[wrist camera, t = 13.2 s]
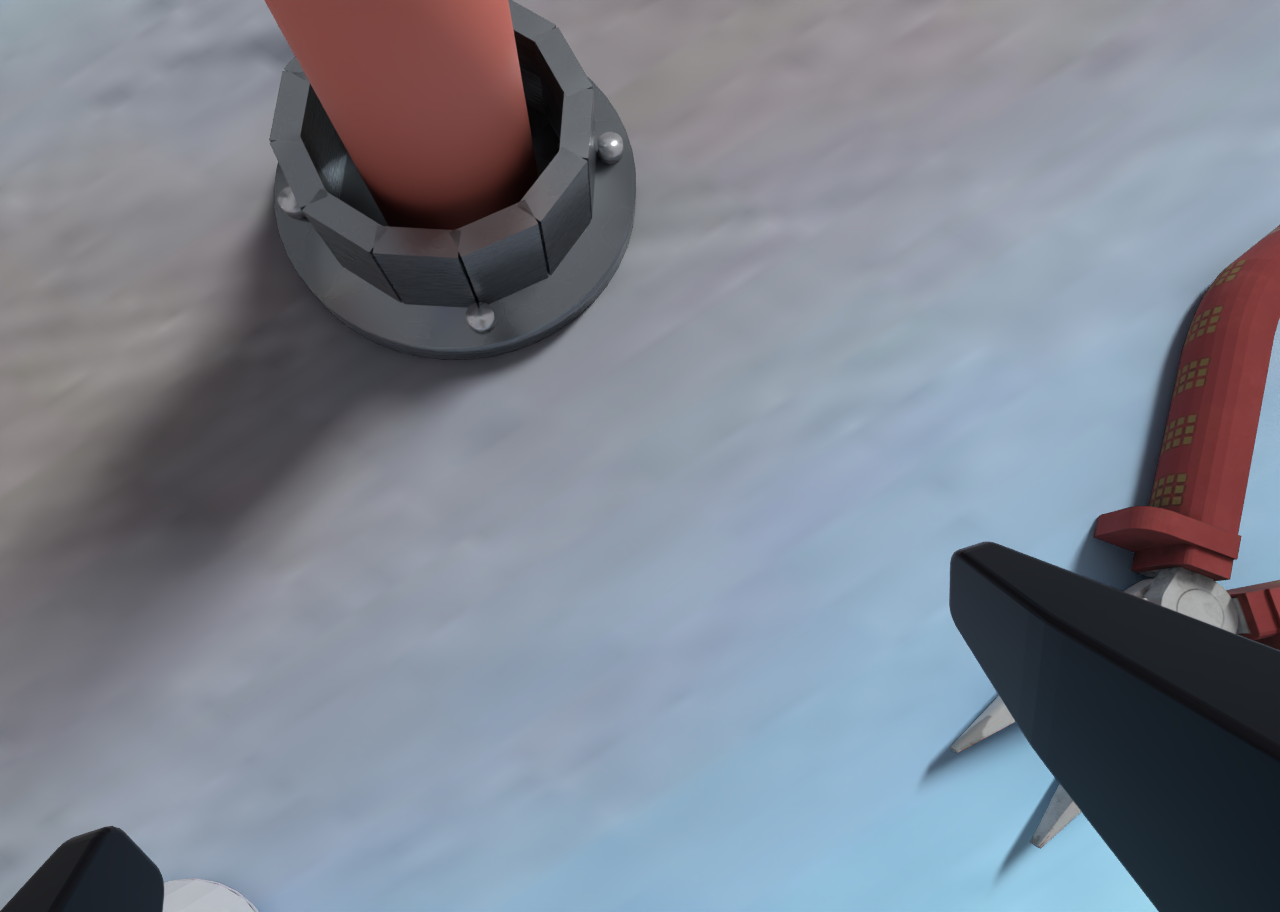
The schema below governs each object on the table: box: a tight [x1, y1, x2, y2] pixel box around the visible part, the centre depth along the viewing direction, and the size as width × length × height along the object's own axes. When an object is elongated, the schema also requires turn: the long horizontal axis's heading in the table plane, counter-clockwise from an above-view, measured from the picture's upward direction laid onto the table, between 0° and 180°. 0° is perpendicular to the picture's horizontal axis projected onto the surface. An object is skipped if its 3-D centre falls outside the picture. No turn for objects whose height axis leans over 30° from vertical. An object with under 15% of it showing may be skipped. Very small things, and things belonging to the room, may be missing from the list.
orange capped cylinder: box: [265, 0, 539, 230], centre depth 18 cm, size 6×6×12 cm
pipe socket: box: [269, 0, 636, 360], centre depth 23 cm, size 11×11×4 cm
